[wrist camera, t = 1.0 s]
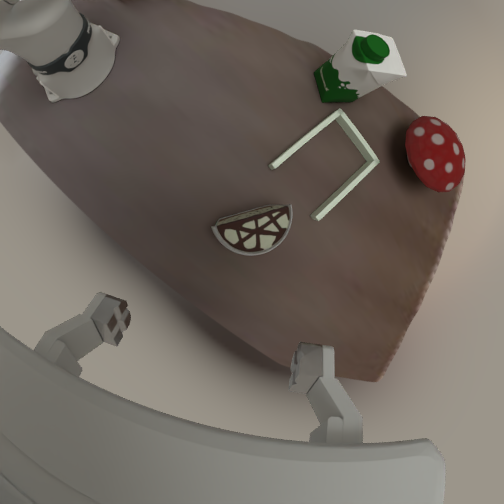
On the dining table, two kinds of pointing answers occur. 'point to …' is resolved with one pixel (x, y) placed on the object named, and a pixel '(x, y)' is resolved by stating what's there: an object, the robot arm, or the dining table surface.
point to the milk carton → (359, 67)
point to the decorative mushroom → (435, 153)
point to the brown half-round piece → (254, 229)
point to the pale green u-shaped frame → (355, 178)
